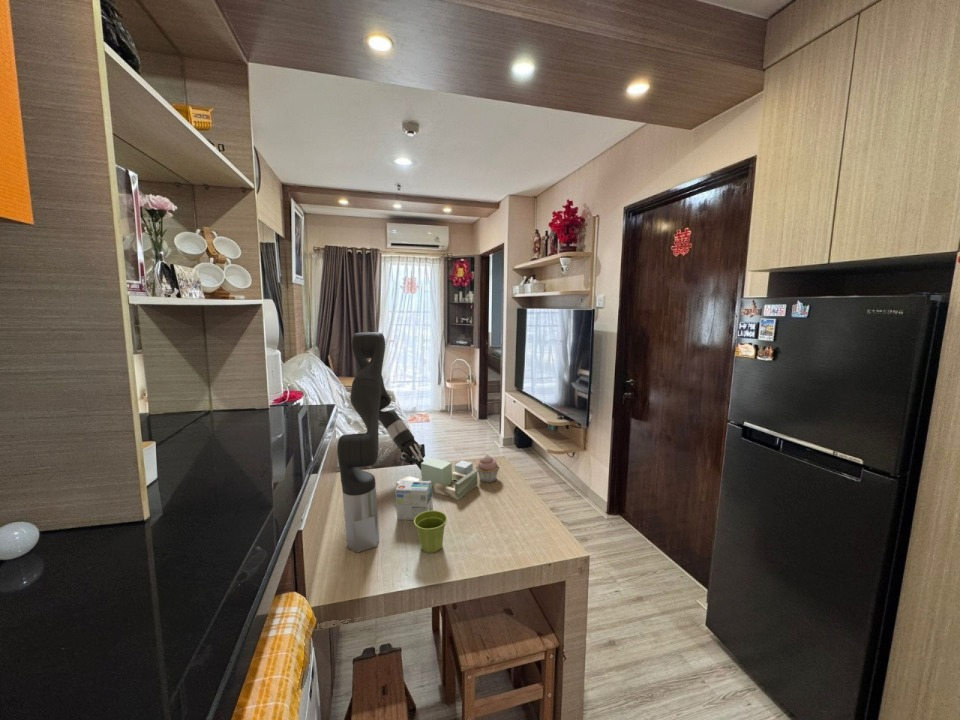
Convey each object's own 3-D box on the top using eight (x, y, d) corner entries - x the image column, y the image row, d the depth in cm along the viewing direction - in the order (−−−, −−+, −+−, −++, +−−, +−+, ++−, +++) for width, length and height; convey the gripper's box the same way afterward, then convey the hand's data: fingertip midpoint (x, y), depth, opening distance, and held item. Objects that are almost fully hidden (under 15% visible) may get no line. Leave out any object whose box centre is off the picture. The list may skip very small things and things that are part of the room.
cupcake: (493, 471, 161) (492, 448, 159) (504, 481, 153) (503, 456, 151) (471, 476, 157) (471, 452, 155) (482, 486, 149) (481, 461, 147)
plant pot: (418, 536, 120) (417, 510, 118) (449, 536, 120) (448, 510, 118) (412, 557, 111) (410, 529, 109) (446, 557, 110) (445, 529, 109)
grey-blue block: (472, 474, 159) (472, 463, 158) (465, 479, 154) (465, 467, 154) (462, 471, 161) (462, 460, 160) (455, 476, 157) (454, 465, 156)
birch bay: (477, 485, 150) (477, 470, 149) (458, 500, 140) (458, 484, 139) (453, 478, 156) (453, 464, 154) (434, 491, 146) (433, 476, 145)
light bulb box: (433, 509, 134) (432, 480, 132) (429, 521, 128) (427, 490, 126) (402, 508, 135) (400, 479, 133) (396, 520, 129) (394, 489, 127)
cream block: (420, 495, 144) (420, 479, 143) (409, 502, 139) (408, 486, 138) (408, 490, 147) (407, 475, 146) (396, 497, 142) (396, 482, 141)
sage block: (452, 482, 153) (451, 462, 151) (442, 489, 148) (441, 469, 146) (431, 476, 158) (430, 457, 156) (421, 482, 153) (420, 463, 151)
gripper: (392, 434, 152) (418, 471, 147) (416, 423, 163) (440, 458, 158) (383, 444, 155) (408, 481, 151) (407, 433, 166) (431, 467, 162)
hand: (425, 469), depth 155 cm, fingers closed
